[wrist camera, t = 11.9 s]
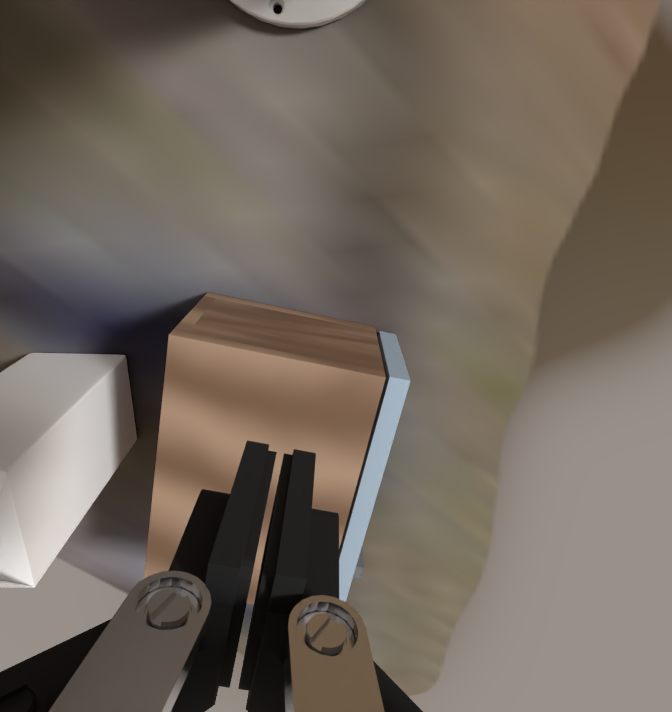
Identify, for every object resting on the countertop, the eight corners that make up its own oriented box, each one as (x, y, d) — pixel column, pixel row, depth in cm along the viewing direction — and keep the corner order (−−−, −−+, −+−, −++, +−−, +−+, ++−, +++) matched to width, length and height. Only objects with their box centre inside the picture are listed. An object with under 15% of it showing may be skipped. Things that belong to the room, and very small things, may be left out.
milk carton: (138, 438, 41) (-14, 659, 23) (47, 436, 41) (-176, 656, 23) (127, 353, 38) (-55, 529, 20) (29, 351, 38) (-237, 525, 20)
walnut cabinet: (207, 292, 36) (168, 334, 28) (375, 326, 37) (385, 377, 29) (181, 501, 43) (143, 586, 34) (324, 526, 44) (321, 615, 35)
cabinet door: (379, 331, 37) (389, 376, 29) (409, 337, 37) (427, 384, 30) (327, 529, 43) (325, 608, 36) (353, 534, 43) (356, 613, 36)
